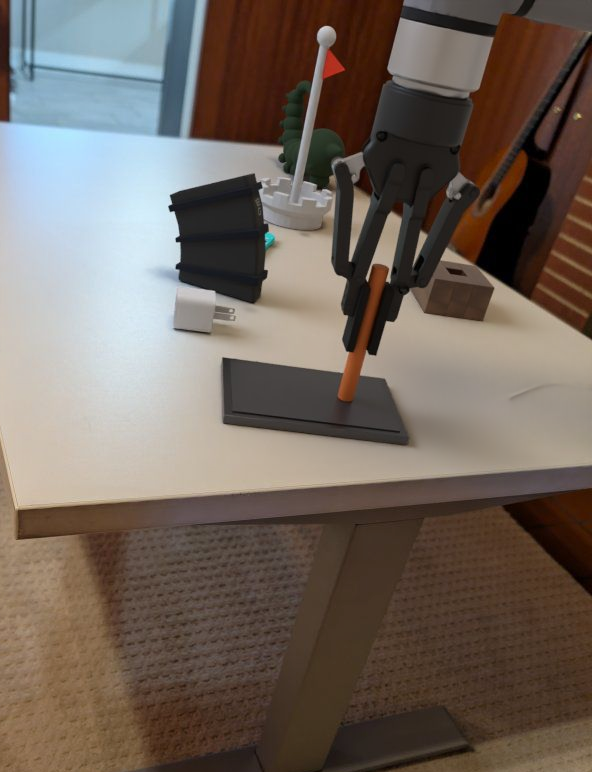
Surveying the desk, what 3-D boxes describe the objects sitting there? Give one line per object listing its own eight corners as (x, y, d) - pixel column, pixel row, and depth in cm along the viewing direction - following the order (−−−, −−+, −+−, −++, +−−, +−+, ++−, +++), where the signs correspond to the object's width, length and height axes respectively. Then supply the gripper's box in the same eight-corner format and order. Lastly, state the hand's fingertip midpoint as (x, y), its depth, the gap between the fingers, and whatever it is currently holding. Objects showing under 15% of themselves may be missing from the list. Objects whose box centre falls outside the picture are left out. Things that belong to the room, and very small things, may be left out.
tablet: (383, 385, 83) (385, 377, 82) (407, 445, 73) (410, 436, 72) (220, 364, 80) (222, 355, 80) (222, 423, 70) (224, 414, 70)
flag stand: (238, 209, 131) (269, 14, 115) (291, 205, 139) (327, 22, 124) (288, 234, 124) (329, 29, 108) (341, 229, 132) (387, 38, 116)
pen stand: (465, 297, 113) (476, 265, 110) (482, 321, 105) (495, 287, 103) (410, 289, 111) (420, 256, 109) (424, 312, 104) (435, 278, 102)
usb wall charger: (173, 315, 89) (177, 283, 87) (231, 323, 90) (236, 292, 88) (172, 330, 86) (177, 297, 83) (233, 338, 87) (238, 305, 84)
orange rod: (351, 395, 77) (387, 264, 70) (353, 402, 76) (391, 270, 69) (336, 393, 77) (370, 262, 70) (338, 400, 76) (374, 268, 68)
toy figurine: (262, 169, 167) (312, 193, 147) (275, 75, 158) (330, 87, 138) (300, 172, 170) (354, 196, 151) (314, 80, 162) (374, 93, 142)
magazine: (277, 299, 94) (248, 176, 88) (186, 314, 100) (152, 199, 94) (287, 291, 97) (259, 171, 91) (198, 305, 103) (166, 193, 97)
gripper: (500, 95, 65) (421, 341, 78) (336, 64, 63) (282, 321, 76) (531, 111, 59) (439, 375, 71) (350, 76, 57) (289, 354, 69)
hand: (359, 347), depth 74 cm, fingers closed on orange rod, 1 cm apart
